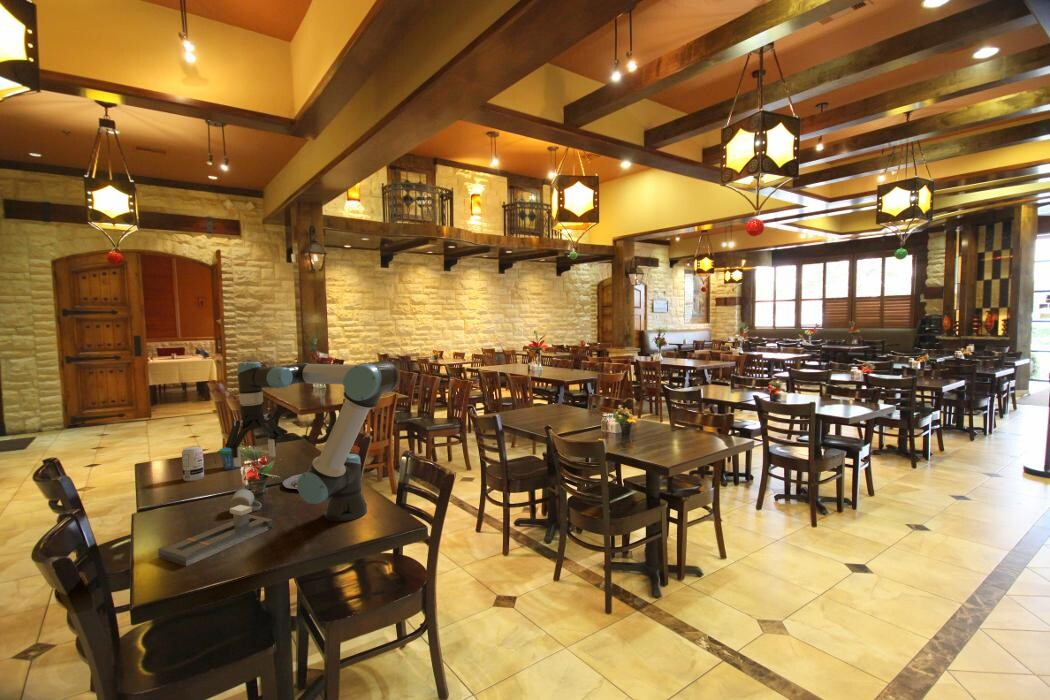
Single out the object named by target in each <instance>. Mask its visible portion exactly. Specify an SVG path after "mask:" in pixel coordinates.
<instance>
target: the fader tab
mask: <svg viewBox="0 0 1050 700" xmlns="http://www.w3.org/2000/svg"><path fill="white" fill-rule="evenodd" d="M252 512H253V510H252V507H248V506H244V505H238V506H236V507H233V508H230V507H229V513H230V514H232V516H233V519H232V520H233V521H234V529H235V528H238V527H240V526H243V525H245V524H247V523H249V513H252Z"/></svg>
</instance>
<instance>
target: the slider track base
mask: <svg viewBox="0 0 1050 700" xmlns="http://www.w3.org/2000/svg"><path fill="white" fill-rule="evenodd" d="M271 529H274V519H270V518H267V517H262V516H259V515H254V514H249V523H247V524H245V525H243V526H240V527H238V528H235V529H234V520H232V521H229V522H227V523H224V524H221V525H219V526H217V527H214V528H212V529H209V530H206V531H204V532H202V533H199V534H197V535H195V536H191V537H188V538H186V539H184V540H181V541H179V542H176V543H174V544H171V545H169V546H167V545H163V546H161V547H158V548H157V550H158V558H159V559H161V558H162V560H165V561H168V562H172V563H175V564H177V565H181V566H184V567H188V566H190V565H193V564H195V563H197V562H199V561H201V560H204V559H206V558H208V557H210V556H212V555H216V554H217V553H220V552H222V551H224V550H226V549H229V548H232V547H233V546H236V545H237V544H240V543H242V542H244V541H246V540H249V539H251V538H254V537H256V536H258V535H260V534H262V533H265V532H267V531H270V530H271Z"/></svg>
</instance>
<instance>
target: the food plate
mask: <svg viewBox="0 0 1050 700" xmlns="http://www.w3.org/2000/svg"><path fill="white" fill-rule="evenodd" d="M302 474H303V473H299V474H294V475H292V476H290V477H288V478H286V479H285V480H283V481H282V485H283V487H285V488H286V489H295V490H297V491H298V489H297V481H298V479H299V477H300V476H301V475H302Z"/></svg>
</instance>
